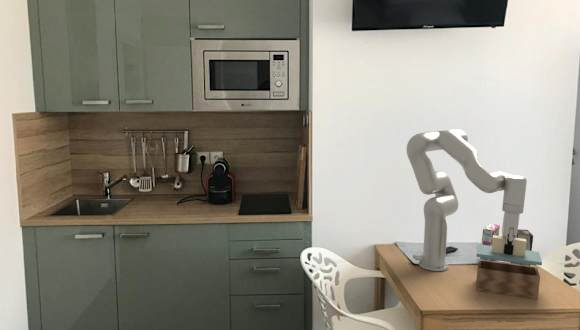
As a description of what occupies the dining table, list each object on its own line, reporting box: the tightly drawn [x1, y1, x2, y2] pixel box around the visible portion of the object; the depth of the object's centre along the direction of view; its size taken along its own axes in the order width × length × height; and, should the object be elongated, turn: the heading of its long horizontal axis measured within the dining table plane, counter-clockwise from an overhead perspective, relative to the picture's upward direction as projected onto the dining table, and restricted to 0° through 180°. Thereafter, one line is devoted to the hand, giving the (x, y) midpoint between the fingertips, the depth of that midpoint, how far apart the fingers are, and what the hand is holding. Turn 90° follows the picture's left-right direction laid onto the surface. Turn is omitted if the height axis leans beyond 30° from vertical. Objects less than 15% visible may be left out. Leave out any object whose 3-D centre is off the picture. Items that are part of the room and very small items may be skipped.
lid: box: [476, 235, 543, 267], centre depth 197 cm, size 23×12×8 cm, turn 69°
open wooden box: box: [475, 258, 541, 300], centre depth 199 cm, size 22×11×9 cm, turn 69°
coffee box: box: [510, 228, 534, 266], centre depth 222 cm, size 9×6×16 cm
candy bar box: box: [479, 223, 501, 261], centre depth 228 cm, size 11×5×16 cm, turn 144°
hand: (507, 252), depth 197 cm, fingers closed on lid, 3 cm apart
